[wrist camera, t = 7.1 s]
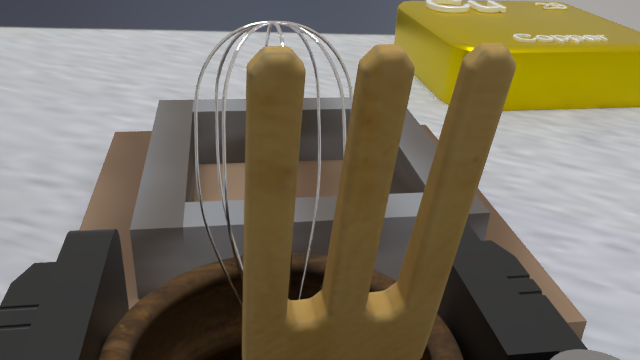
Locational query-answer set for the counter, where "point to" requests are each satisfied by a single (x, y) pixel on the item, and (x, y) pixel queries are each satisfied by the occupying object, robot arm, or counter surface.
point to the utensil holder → (348, 224)
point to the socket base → (183, 201)
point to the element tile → (526, 51)
